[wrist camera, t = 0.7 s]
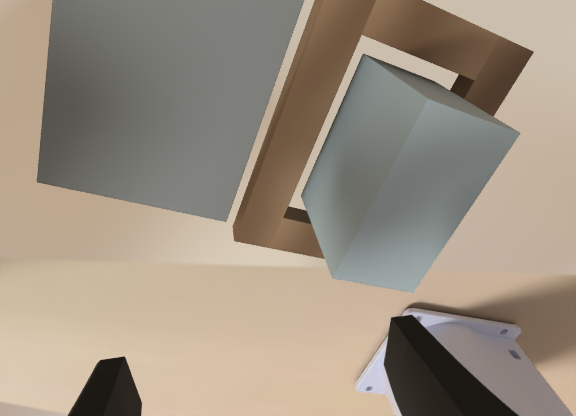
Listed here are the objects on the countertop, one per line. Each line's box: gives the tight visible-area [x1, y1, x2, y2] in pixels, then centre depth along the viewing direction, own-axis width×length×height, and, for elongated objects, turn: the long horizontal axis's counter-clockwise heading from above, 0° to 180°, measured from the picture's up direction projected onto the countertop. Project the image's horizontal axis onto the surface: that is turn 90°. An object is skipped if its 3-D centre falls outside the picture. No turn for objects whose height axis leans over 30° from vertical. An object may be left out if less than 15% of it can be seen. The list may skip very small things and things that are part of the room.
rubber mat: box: [37, 0, 304, 222], centre depth 16 cm, size 8×11×1 cm
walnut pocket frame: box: [233, 0, 533, 259], centre depth 19 cm, size 9×12×1 cm
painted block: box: [301, 54, 520, 293], centre depth 17 cm, size 4×7×6 cm, turn 159°
